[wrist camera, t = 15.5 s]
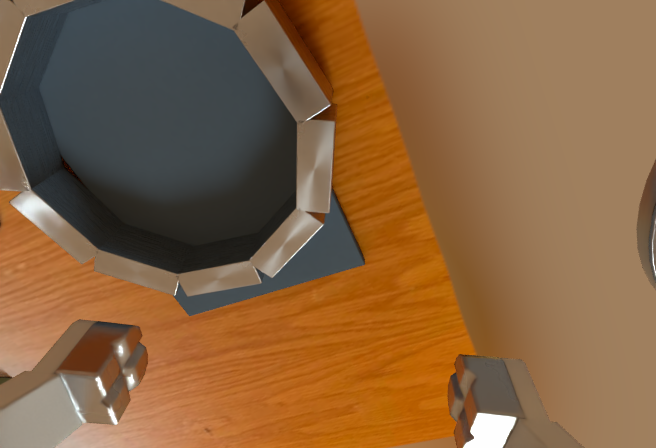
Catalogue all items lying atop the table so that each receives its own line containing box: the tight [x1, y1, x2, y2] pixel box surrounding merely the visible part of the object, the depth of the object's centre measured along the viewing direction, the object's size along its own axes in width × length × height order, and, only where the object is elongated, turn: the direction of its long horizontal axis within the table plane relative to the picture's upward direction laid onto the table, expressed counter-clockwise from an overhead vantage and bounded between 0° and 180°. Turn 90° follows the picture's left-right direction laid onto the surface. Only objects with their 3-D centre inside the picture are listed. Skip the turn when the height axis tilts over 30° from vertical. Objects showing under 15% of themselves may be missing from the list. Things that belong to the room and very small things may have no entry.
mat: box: [39, 0, 365, 316], centre depth 23 cm, size 24×14×1 cm, turn 23°
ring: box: [0, 0, 337, 296], centre depth 21 cm, size 18×18×3 cm
